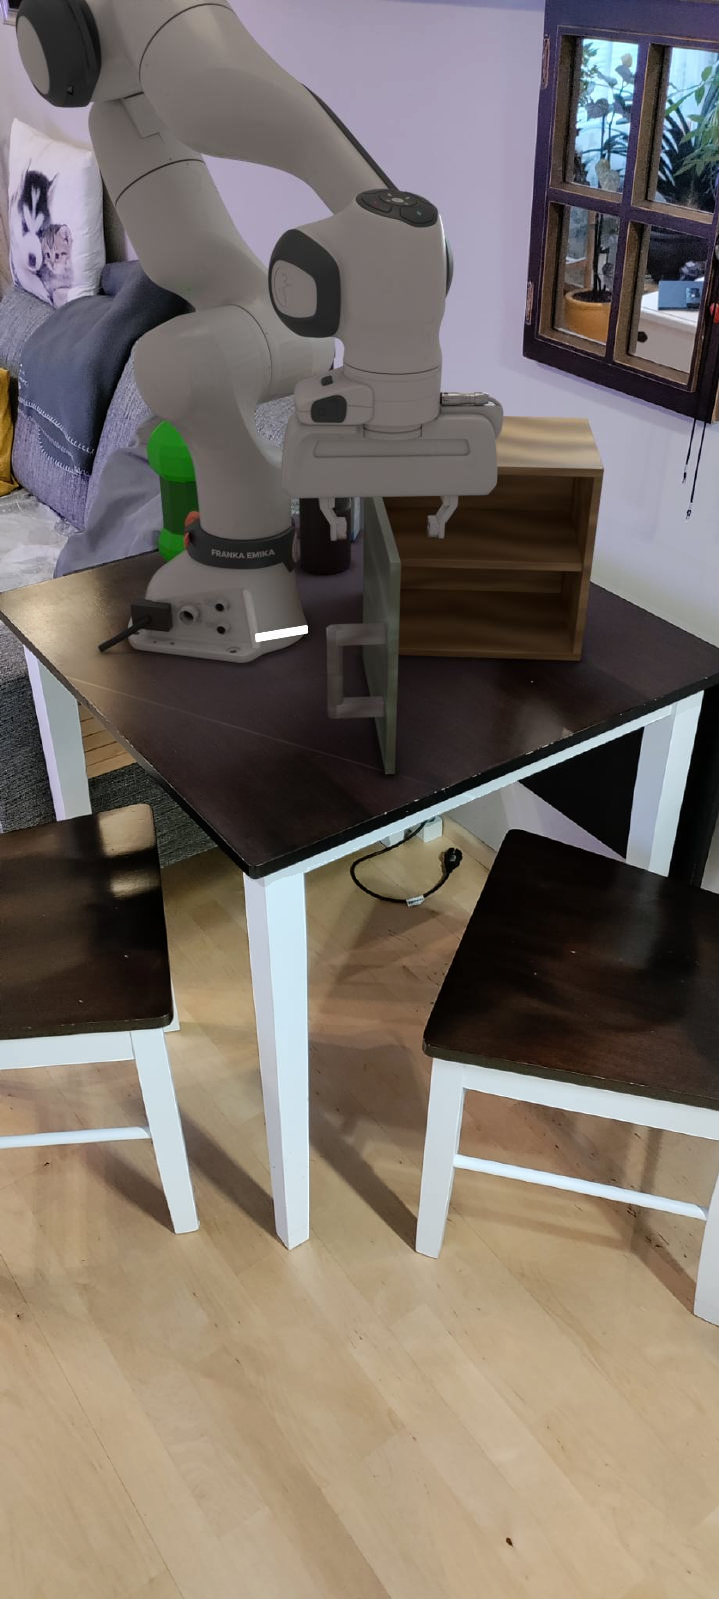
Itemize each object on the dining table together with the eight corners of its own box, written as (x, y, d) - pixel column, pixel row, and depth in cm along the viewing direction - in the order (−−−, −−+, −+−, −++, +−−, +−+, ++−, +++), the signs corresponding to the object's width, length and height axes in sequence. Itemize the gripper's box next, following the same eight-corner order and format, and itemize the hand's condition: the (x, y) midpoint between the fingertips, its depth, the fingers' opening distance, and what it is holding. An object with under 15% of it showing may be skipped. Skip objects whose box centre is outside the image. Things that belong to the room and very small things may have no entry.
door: (330, 776, 126) (328, 564, 113) (314, 658, 148) (312, 467, 134) (394, 774, 127) (401, 562, 113) (370, 656, 148) (373, 466, 135)
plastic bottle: (154, 583, 165) (137, 397, 151) (164, 552, 174) (148, 373, 159) (228, 584, 165) (217, 398, 151) (234, 552, 174) (225, 374, 159)
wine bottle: (340, 579, 167) (340, 354, 149) (292, 571, 169) (287, 348, 151) (357, 559, 172) (359, 340, 155) (311, 552, 174) (308, 334, 157)
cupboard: (580, 661, 148) (604, 468, 134) (366, 654, 149) (369, 462, 135) (567, 597, 163) (587, 417, 149) (373, 591, 164) (375, 412, 150)
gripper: (498, 381, 113) (487, 522, 121) (278, 383, 111) (281, 526, 119) (511, 402, 108) (498, 548, 116) (280, 405, 106) (284, 552, 114)
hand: (386, 537), depth 117 cm, fingers open, 8 cm apart
